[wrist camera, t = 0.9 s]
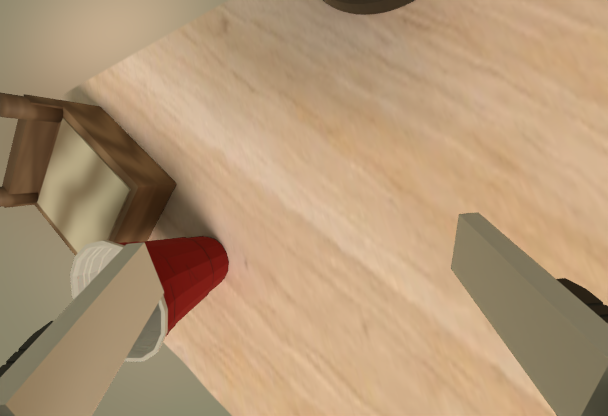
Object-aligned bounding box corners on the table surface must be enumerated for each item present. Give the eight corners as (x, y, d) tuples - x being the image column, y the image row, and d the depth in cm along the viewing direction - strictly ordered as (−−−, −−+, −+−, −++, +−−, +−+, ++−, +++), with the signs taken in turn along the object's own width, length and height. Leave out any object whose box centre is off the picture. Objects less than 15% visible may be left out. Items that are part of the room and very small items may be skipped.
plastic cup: (216, 322, 36) (121, 390, 25) (164, 256, 38) (55, 293, 28) (266, 267, 32) (179, 321, 21) (205, 196, 34) (96, 213, 23)
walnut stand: (176, 183, 36) (87, 190, 27) (133, 267, 41) (47, 297, 32) (98, 104, 39) (-3, 87, 30) (68, 191, 45) (-26, 199, 36)
